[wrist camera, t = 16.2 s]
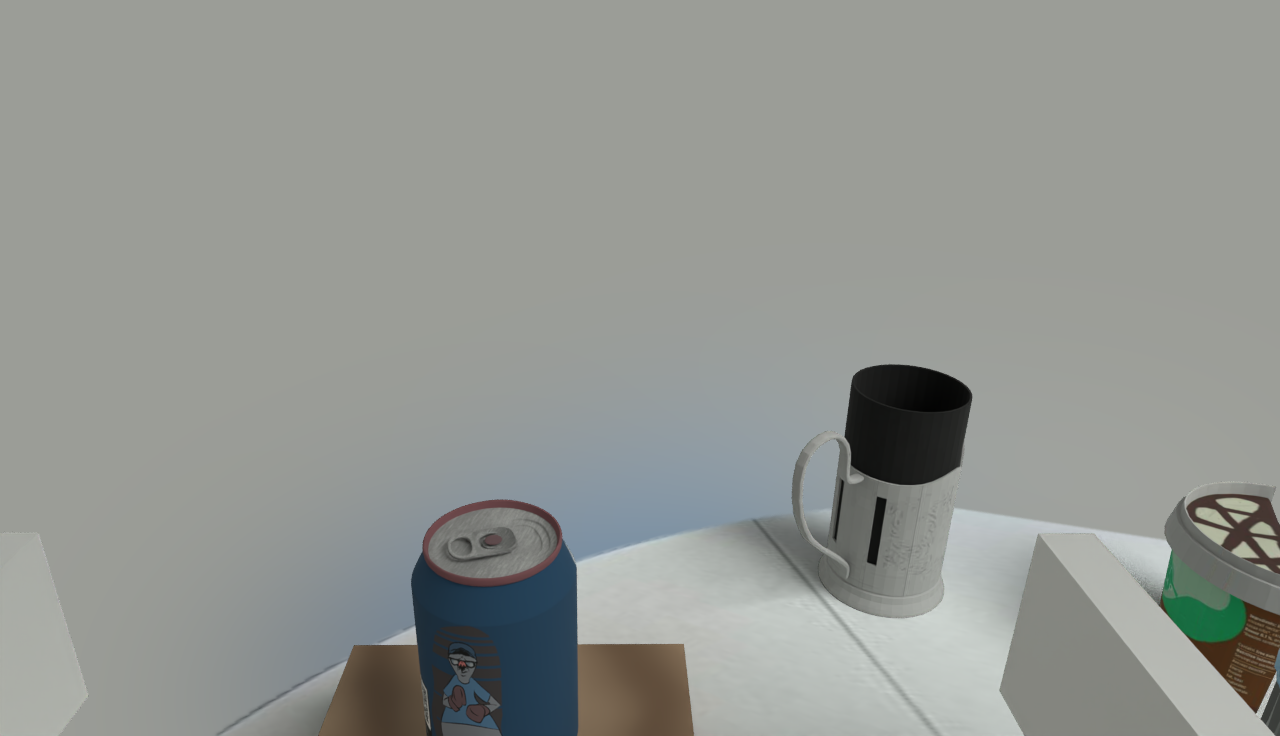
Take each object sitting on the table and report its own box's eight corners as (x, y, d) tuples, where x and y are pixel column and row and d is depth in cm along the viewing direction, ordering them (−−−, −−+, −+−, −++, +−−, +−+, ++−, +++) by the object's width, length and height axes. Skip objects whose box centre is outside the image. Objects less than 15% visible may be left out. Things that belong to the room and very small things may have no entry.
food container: (1128, 582, 61) (1165, 460, 57) (1228, 608, 59) (1274, 482, 55) (1137, 697, 51) (1183, 559, 47) (1259, 734, 49) (1318, 591, 45)
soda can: (558, 681, 44) (553, 481, 40) (596, 788, 38) (597, 569, 34) (421, 713, 42) (399, 506, 37) (440, 833, 36) (416, 604, 31)
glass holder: (970, 588, 60) (1011, 396, 54) (829, 669, 53) (859, 455, 47) (873, 528, 67) (901, 351, 61) (735, 593, 59) (751, 397, 53)
